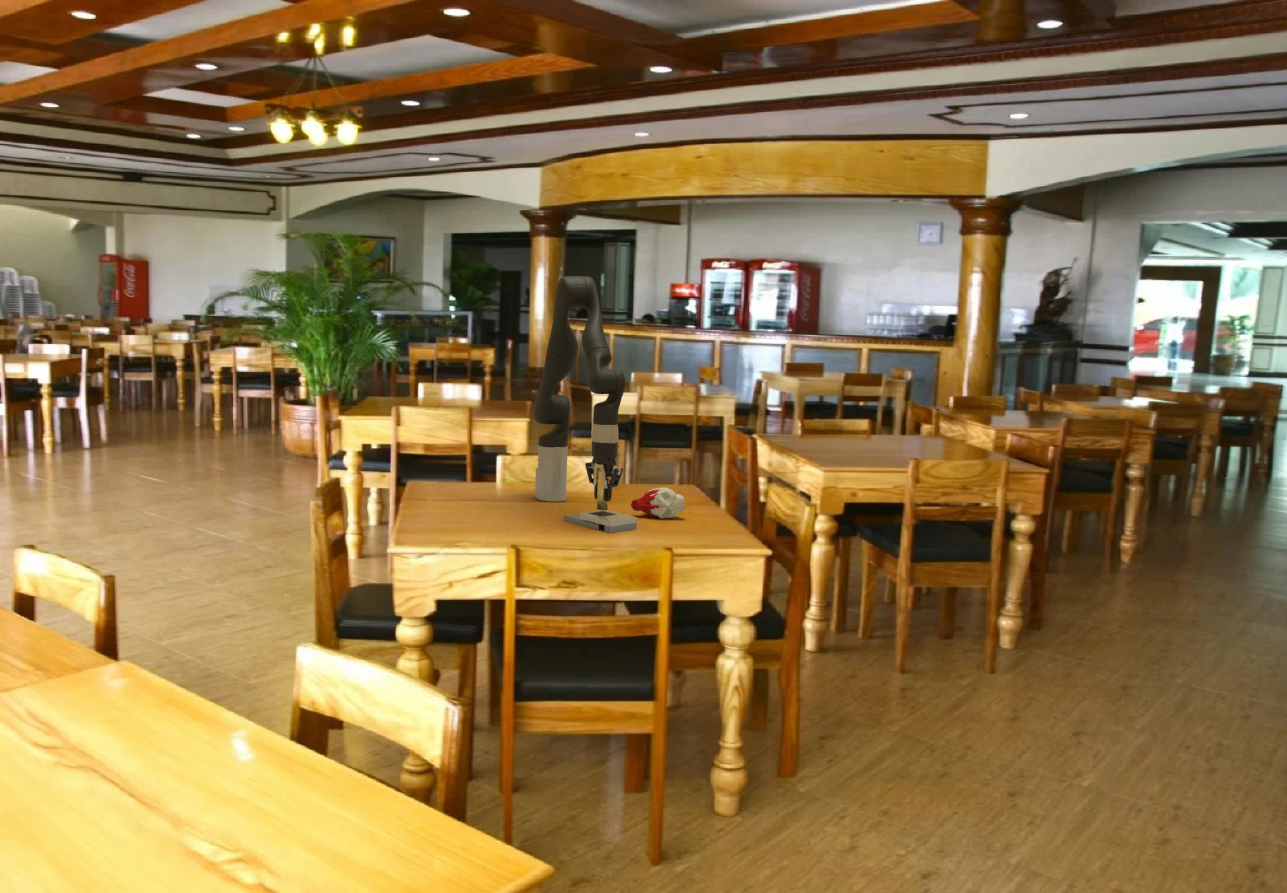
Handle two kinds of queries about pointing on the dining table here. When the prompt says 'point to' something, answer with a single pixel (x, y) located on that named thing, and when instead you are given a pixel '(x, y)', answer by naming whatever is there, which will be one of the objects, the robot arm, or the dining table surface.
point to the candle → (660, 503)
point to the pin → (601, 491)
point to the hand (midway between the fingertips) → (602, 499)
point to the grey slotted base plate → (603, 520)
